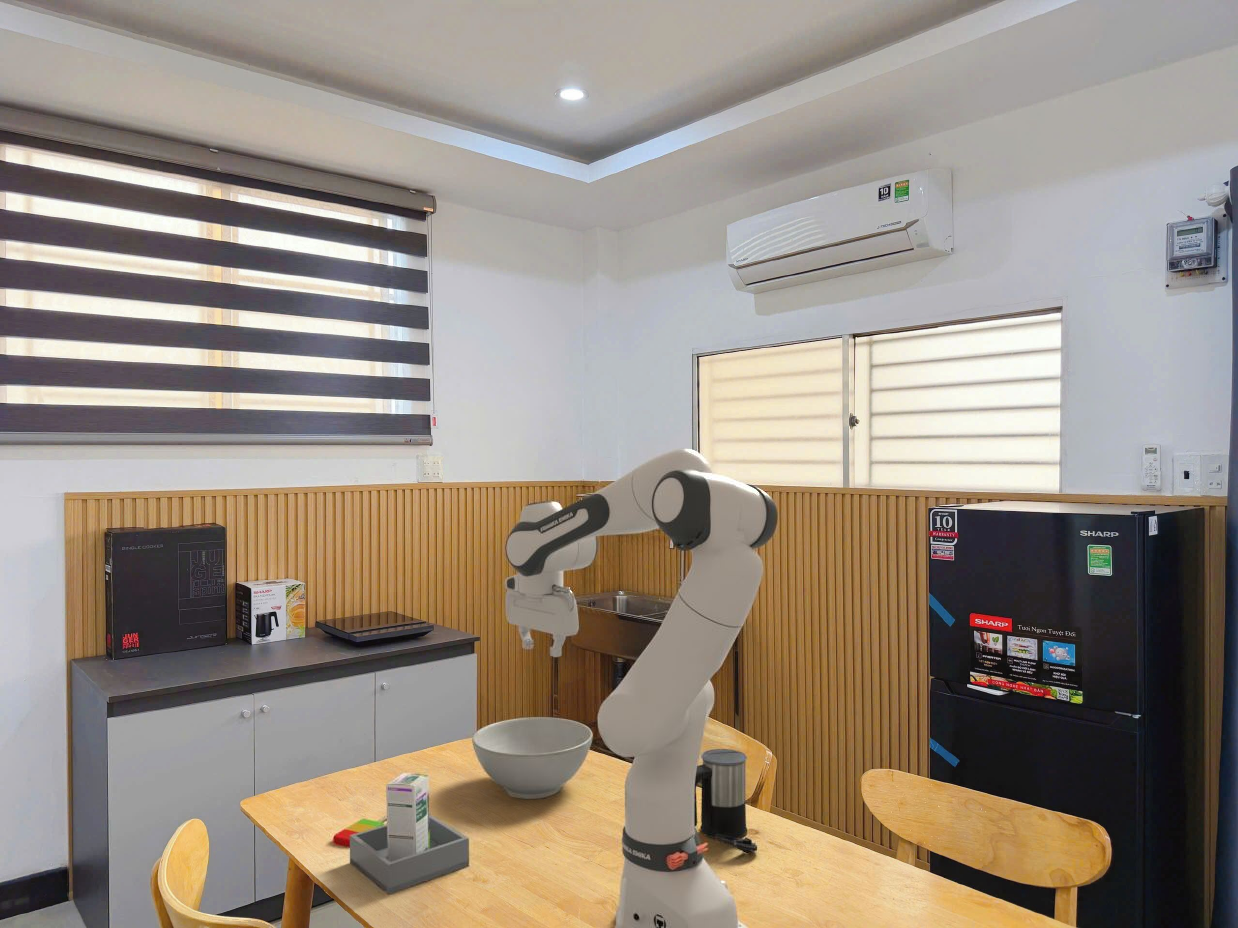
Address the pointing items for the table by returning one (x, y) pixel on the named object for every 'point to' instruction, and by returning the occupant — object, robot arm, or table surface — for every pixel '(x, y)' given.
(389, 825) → the syrup box
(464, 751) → the table surface
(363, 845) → the bin
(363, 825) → the popsicle
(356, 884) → the table surface
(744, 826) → the milk frother
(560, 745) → the decorative bowl
